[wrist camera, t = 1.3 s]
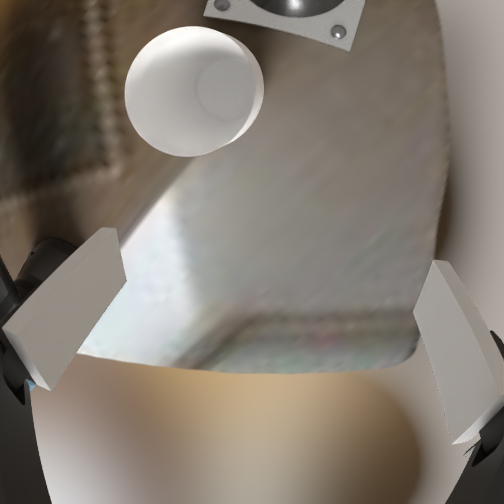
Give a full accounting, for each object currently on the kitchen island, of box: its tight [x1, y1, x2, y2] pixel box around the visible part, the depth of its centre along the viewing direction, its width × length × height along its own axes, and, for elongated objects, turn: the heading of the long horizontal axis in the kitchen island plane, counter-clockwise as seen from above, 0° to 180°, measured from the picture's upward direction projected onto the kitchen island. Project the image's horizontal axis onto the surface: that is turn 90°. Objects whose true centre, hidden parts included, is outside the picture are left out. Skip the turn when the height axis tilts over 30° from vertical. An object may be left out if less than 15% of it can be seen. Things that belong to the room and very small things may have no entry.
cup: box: [125, 26, 264, 157], centre depth 22 cm, size 9×9×12 cm
